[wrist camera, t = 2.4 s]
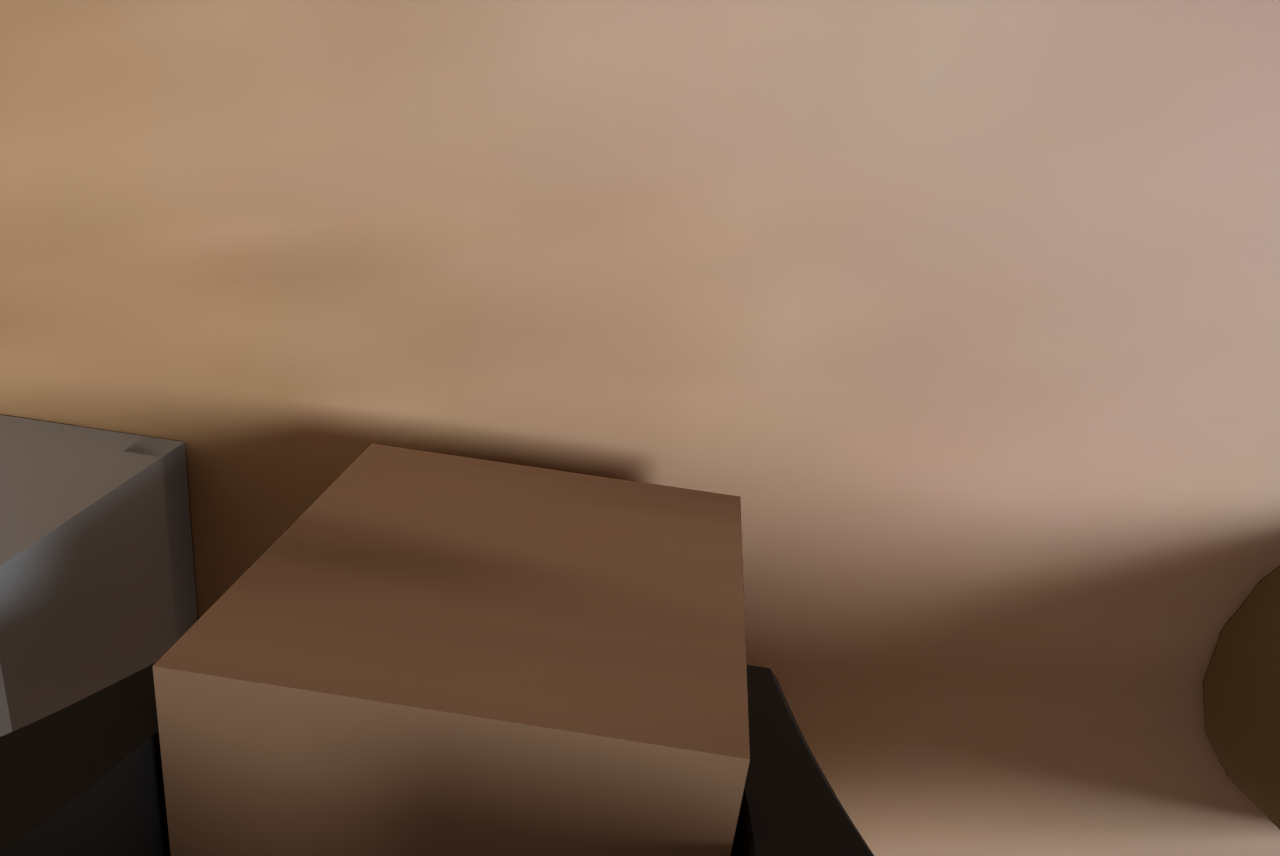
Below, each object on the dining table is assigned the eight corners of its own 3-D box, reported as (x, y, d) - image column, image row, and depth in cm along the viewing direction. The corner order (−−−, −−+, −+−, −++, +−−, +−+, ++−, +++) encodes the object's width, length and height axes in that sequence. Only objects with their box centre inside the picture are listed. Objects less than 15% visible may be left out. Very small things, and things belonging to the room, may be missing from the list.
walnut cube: (689, 790, 14) (670, 1150, 9) (368, 739, 14) (191, 1067, 9) (740, 497, 12) (749, 760, 7) (371, 443, 12) (153, 666, 8)
